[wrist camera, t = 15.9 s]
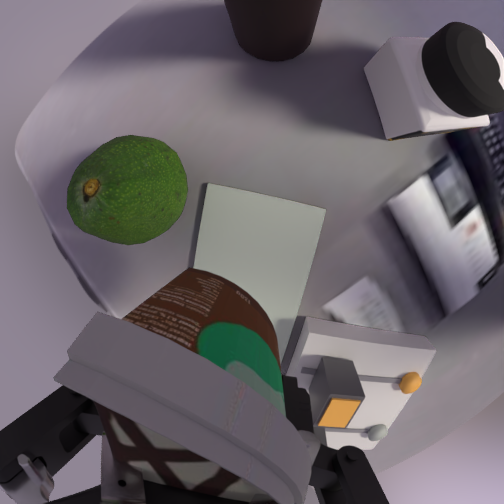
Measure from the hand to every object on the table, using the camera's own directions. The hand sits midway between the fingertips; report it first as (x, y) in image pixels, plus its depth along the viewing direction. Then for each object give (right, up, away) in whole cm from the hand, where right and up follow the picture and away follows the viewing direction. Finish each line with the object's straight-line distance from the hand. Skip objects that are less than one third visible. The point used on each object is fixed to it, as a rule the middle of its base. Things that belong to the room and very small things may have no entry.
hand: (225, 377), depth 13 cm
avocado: (-7, +12, +11) cm, 18 cm away
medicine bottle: (+15, +20, +7) cm, 26 cm away
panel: (+12, -9, +15) cm, 21 cm away
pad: (+1, +3, +13) cm, 13 cm away
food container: (+1, +1, +2) cm, 2 cm away
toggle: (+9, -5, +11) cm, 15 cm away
